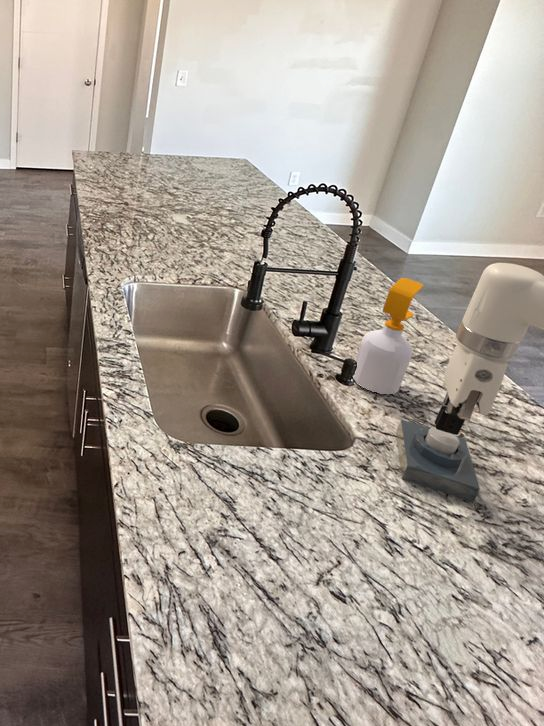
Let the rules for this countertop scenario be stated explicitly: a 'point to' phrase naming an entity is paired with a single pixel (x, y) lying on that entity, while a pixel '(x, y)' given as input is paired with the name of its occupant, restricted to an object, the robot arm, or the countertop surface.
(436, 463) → the push button base
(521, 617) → the countertop surface
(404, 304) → the soap bottle
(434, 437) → the flush button
